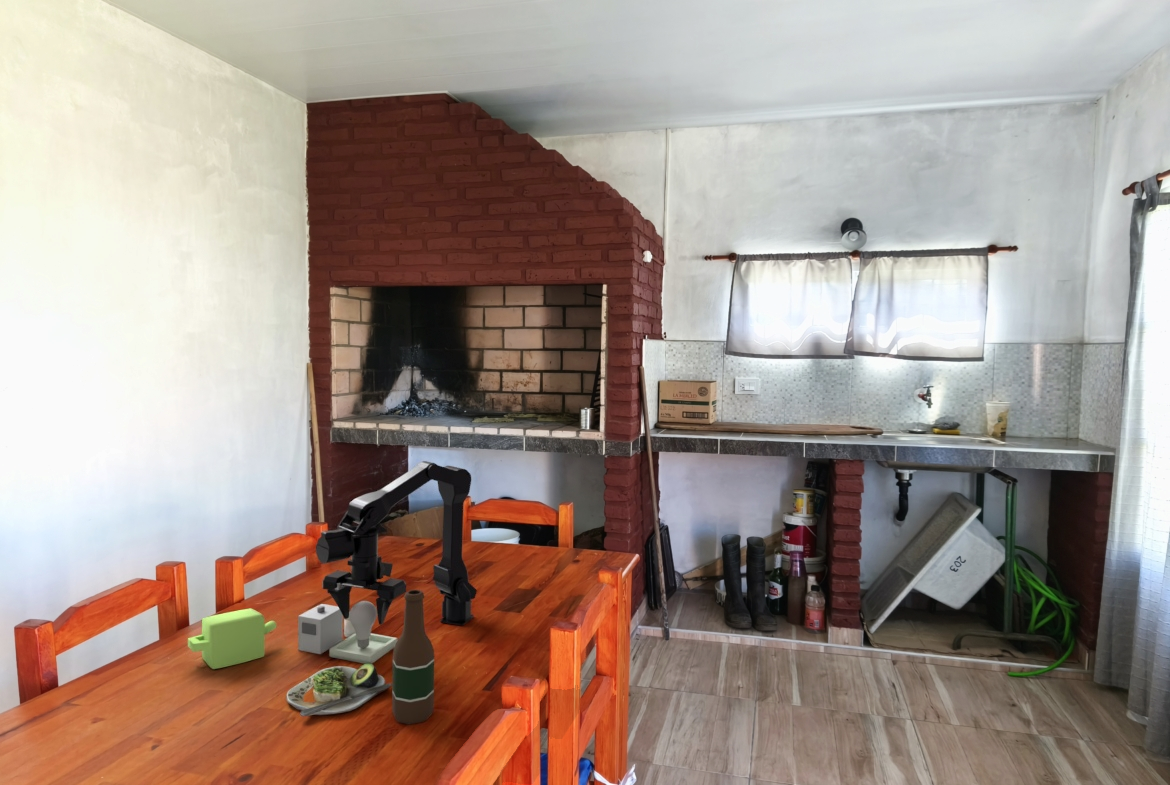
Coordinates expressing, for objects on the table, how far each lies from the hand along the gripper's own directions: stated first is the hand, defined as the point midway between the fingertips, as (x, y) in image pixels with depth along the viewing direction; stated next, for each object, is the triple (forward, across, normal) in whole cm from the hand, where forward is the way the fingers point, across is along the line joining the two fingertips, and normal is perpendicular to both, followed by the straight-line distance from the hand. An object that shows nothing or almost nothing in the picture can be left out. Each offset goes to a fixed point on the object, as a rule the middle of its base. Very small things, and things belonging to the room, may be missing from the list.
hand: (363, 621), depth 161 cm
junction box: (+7, +11, +1) cm, 13 cm away
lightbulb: (+7, 0, 0) cm, 7 cm away
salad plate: (+8, -7, +18) cm, 21 cm away
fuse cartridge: (+7, +8, -7) cm, 13 cm away
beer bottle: (+7, -25, +20) cm, 33 cm away
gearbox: (+7, +25, +12) cm, 29 cm away
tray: (+7, 0, 0) cm, 7 cm away
